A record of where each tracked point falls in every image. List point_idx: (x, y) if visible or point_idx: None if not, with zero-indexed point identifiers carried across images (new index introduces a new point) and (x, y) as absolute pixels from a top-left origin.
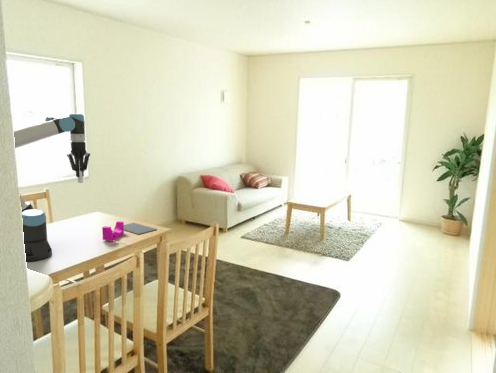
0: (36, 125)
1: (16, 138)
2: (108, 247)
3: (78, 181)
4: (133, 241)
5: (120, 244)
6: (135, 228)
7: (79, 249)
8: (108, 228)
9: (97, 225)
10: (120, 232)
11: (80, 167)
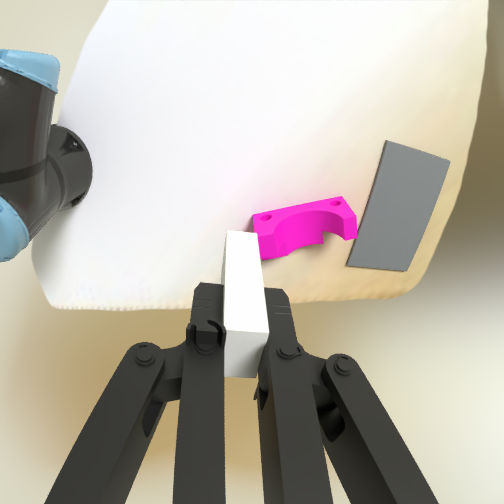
0: None
1: None
2: None
3: (224, 250)
4: None
5: None
6: (394, 217)
7: (146, 238)
8: (263, 256)
9: (379, 52)
10: (309, 244)
11: (267, 406)
